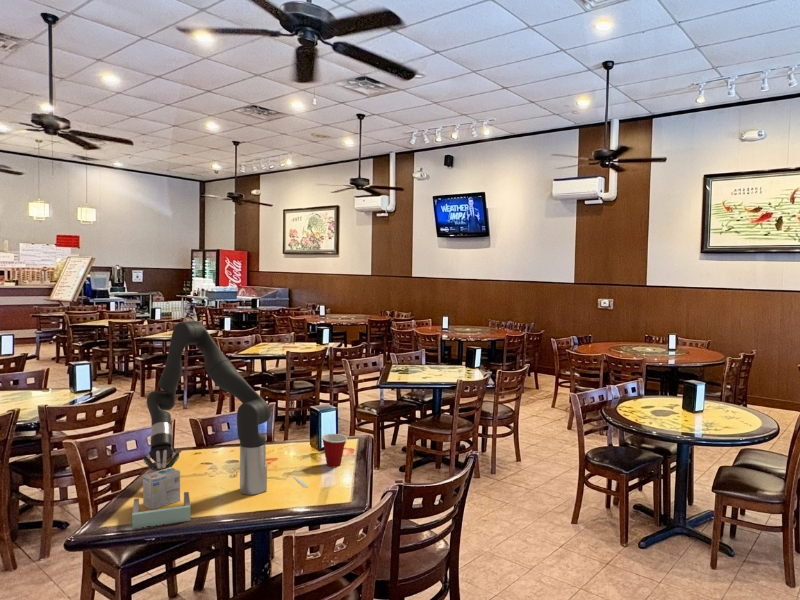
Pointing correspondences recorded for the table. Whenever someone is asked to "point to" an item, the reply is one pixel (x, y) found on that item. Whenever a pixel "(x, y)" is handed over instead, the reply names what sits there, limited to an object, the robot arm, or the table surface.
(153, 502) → the light bulb box
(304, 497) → the table surface
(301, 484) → the butter knife
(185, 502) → the cradle
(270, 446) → the table surface
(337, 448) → the plastic cup
